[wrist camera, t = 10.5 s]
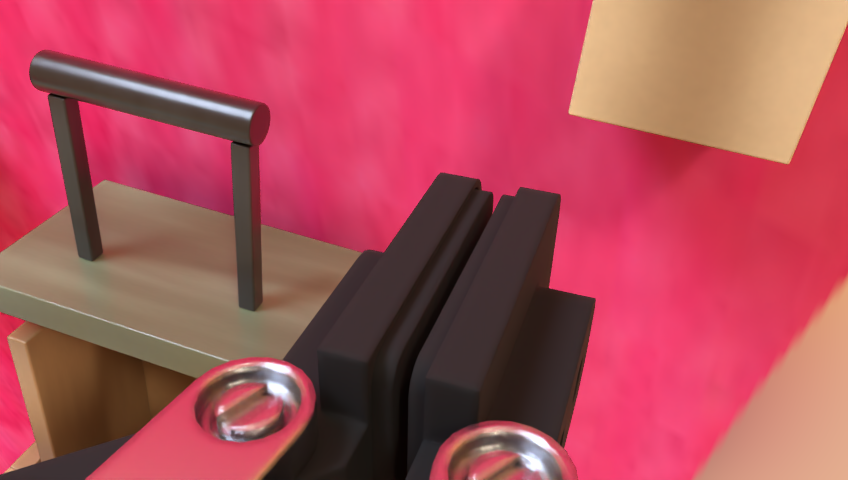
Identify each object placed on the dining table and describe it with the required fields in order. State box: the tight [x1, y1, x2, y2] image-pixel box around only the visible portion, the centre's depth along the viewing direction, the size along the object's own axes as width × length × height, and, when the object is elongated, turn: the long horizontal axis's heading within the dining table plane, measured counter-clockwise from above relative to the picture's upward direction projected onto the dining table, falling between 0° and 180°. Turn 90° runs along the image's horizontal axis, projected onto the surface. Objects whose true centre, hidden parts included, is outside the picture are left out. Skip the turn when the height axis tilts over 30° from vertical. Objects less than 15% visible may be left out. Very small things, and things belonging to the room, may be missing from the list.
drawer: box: [0, 50, 362, 462], centre depth 28 cm, size 21×11×7 cm, turn 174°
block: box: [568, 0, 848, 164], centre depth 18 cm, size 5×5×5 cm
